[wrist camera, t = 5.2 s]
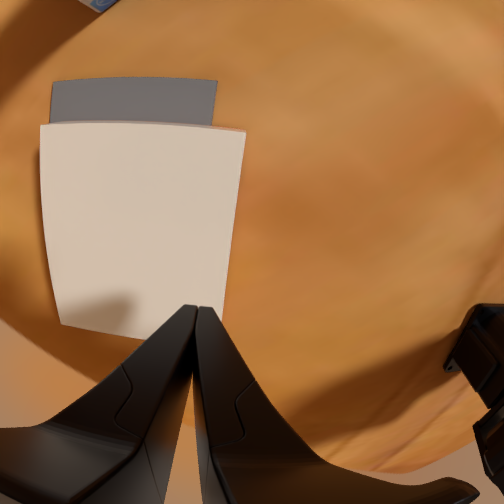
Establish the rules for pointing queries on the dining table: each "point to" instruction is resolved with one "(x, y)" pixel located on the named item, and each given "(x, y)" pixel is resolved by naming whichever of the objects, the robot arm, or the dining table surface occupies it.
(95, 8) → the medicine box
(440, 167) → the dining table surface
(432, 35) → the dining table surface
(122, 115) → the grey mat
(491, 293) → the dining table surface
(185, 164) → the tile
